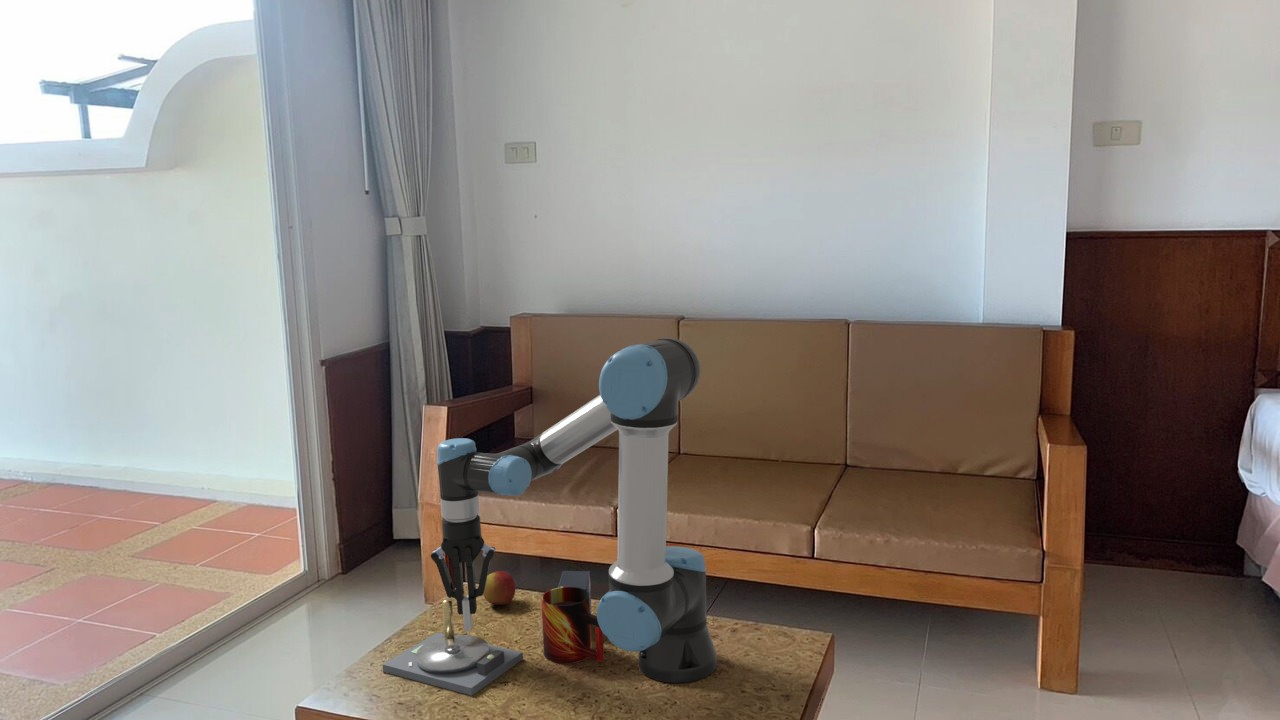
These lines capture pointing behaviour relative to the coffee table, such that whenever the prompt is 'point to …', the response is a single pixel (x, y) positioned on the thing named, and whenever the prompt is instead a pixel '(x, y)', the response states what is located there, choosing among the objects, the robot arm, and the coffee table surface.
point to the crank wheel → (451, 648)
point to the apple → (499, 588)
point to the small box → (576, 580)
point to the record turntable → (455, 681)
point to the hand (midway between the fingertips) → (468, 628)
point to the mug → (569, 626)
